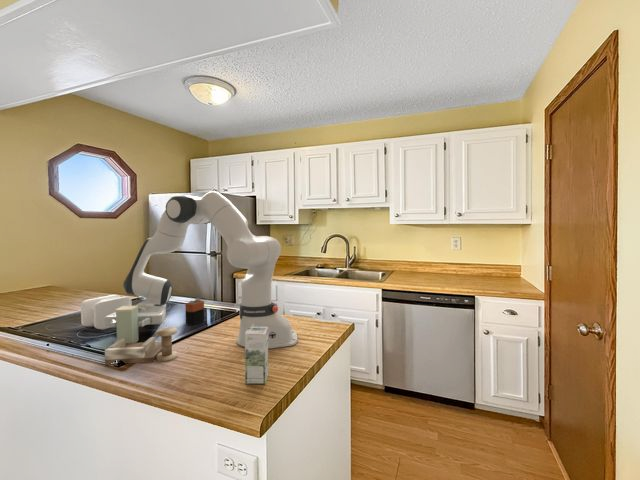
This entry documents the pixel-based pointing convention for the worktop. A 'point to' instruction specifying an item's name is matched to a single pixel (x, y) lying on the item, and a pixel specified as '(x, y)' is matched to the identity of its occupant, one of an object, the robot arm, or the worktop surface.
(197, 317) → the battery
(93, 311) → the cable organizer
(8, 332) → the worktop surface
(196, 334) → the worktop surface
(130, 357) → the winding board
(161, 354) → the bobbin
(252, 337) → the syrup box
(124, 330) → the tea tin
